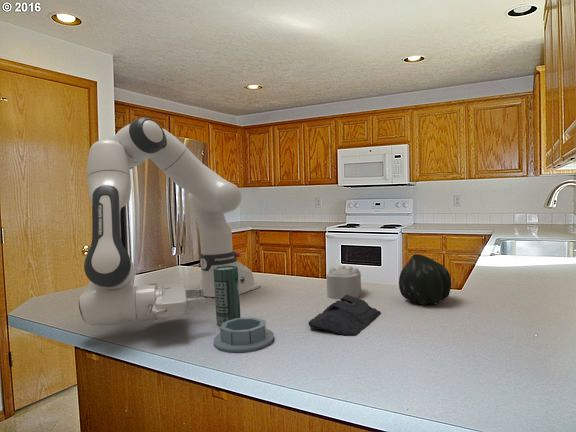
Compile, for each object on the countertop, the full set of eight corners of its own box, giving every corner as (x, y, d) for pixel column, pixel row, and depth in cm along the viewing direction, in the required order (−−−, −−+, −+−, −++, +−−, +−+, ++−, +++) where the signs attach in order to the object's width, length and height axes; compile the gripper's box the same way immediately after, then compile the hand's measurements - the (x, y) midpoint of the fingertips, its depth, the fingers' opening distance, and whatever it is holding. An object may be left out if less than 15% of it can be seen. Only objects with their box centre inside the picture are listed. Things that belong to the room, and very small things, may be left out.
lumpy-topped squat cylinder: (324, 298, 131) (323, 271, 131) (334, 288, 143) (333, 264, 143) (357, 300, 128) (356, 272, 127) (364, 289, 140) (363, 264, 139)
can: (244, 320, 112) (241, 266, 111) (230, 327, 107) (227, 270, 106) (227, 318, 115) (223, 265, 114) (212, 325, 110) (209, 269, 109)
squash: (467, 281, 121) (432, 242, 126) (451, 295, 110) (412, 251, 115) (433, 307, 129) (400, 269, 134) (414, 322, 117) (379, 280, 123)
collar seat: (248, 327, 107) (247, 311, 106) (286, 338, 97) (285, 322, 96) (202, 343, 97) (200, 326, 97) (239, 358, 87) (237, 339, 87)
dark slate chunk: (298, 331, 103) (297, 313, 102) (333, 308, 122) (332, 292, 121) (356, 340, 95) (355, 319, 95) (384, 313, 114) (383, 296, 114)
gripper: (145, 300, 95) (206, 293, 99) (151, 282, 115) (201, 277, 119) (147, 327, 96) (208, 319, 99) (152, 304, 115) (203, 298, 119)
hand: (204, 296), depth 109 cm, fingers open, 8 cm apart
